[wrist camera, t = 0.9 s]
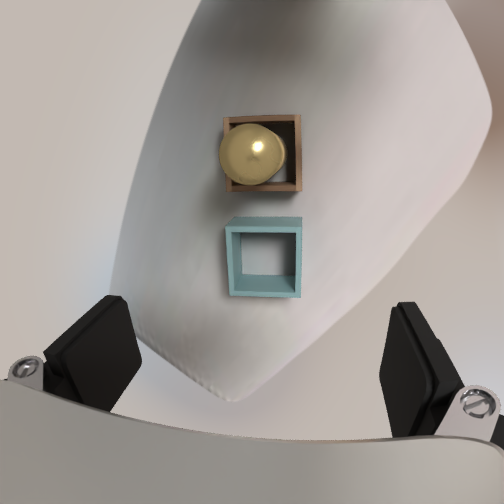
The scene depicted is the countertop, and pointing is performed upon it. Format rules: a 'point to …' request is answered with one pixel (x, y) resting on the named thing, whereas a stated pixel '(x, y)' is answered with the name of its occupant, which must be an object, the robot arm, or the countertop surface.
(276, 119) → the socket block
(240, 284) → the block
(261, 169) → the gold domed peg
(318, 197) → the countertop surface
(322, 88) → the countertop surface
